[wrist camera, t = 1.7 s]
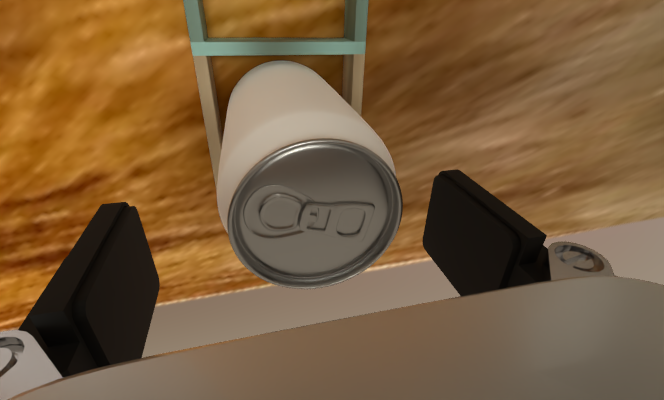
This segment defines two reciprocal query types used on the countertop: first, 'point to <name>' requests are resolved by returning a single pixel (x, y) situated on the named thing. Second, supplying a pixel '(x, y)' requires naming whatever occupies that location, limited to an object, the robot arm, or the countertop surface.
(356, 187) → the can
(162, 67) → the countertop surface
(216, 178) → the slot rack
